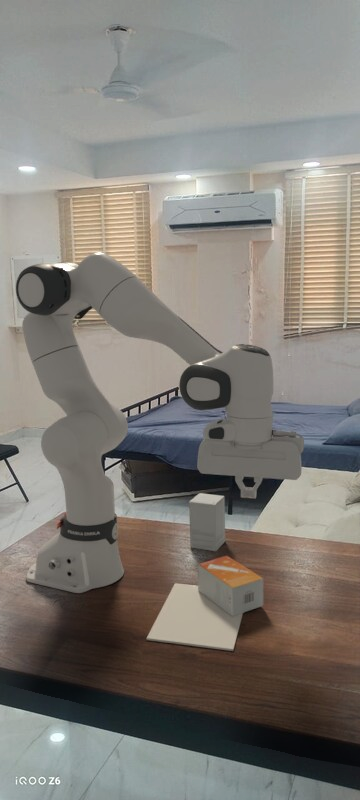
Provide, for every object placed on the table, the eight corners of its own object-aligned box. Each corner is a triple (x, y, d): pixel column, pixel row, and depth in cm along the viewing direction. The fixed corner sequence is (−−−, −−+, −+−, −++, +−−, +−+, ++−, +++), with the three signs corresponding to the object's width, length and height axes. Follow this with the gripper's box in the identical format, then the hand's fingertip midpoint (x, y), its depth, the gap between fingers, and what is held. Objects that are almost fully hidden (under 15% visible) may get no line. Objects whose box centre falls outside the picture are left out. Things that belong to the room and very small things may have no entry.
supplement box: (226, 541, 155) (225, 495, 153) (215, 552, 148) (215, 504, 146) (200, 537, 158) (199, 492, 156) (189, 547, 151) (188, 501, 149)
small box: (232, 587, 116) (196, 563, 127) (232, 617, 117) (197, 590, 128) (264, 577, 120) (227, 554, 131) (264, 606, 122) (227, 581, 133)
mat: (146, 640, 111) (146, 638, 111) (175, 584, 132) (175, 583, 132) (233, 651, 107) (233, 649, 107) (248, 592, 128) (248, 590, 128)
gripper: (305, 428, 114) (303, 496, 116) (202, 423, 119) (202, 488, 121) (303, 435, 108) (301, 507, 110) (195, 430, 113) (195, 498, 115)
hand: (248, 497), depth 116 cm, fingers closed
